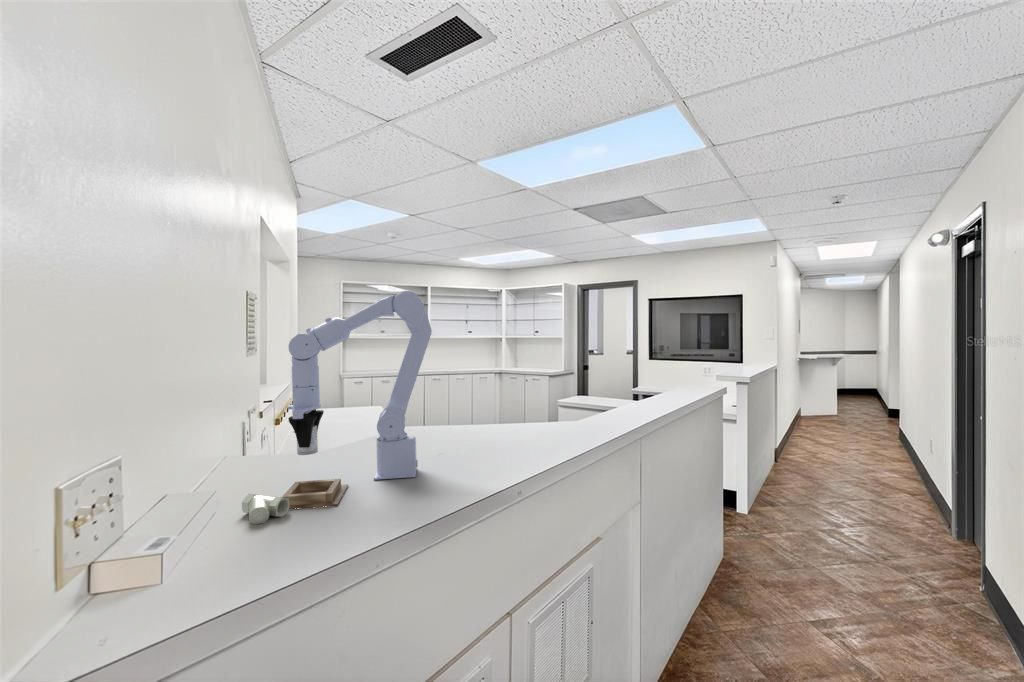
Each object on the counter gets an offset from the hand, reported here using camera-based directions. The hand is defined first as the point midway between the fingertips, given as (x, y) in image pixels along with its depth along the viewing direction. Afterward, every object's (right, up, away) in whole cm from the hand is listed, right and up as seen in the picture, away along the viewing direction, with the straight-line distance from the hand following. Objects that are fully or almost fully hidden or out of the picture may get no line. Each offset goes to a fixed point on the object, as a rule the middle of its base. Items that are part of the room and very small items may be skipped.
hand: (307, 444), depth 109 cm
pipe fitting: (0, -10, -21) cm, 23 cm away
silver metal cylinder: (0, -2, 0) cm, 2 cm away
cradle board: (+6, -9, -11) cm, 15 cm away
